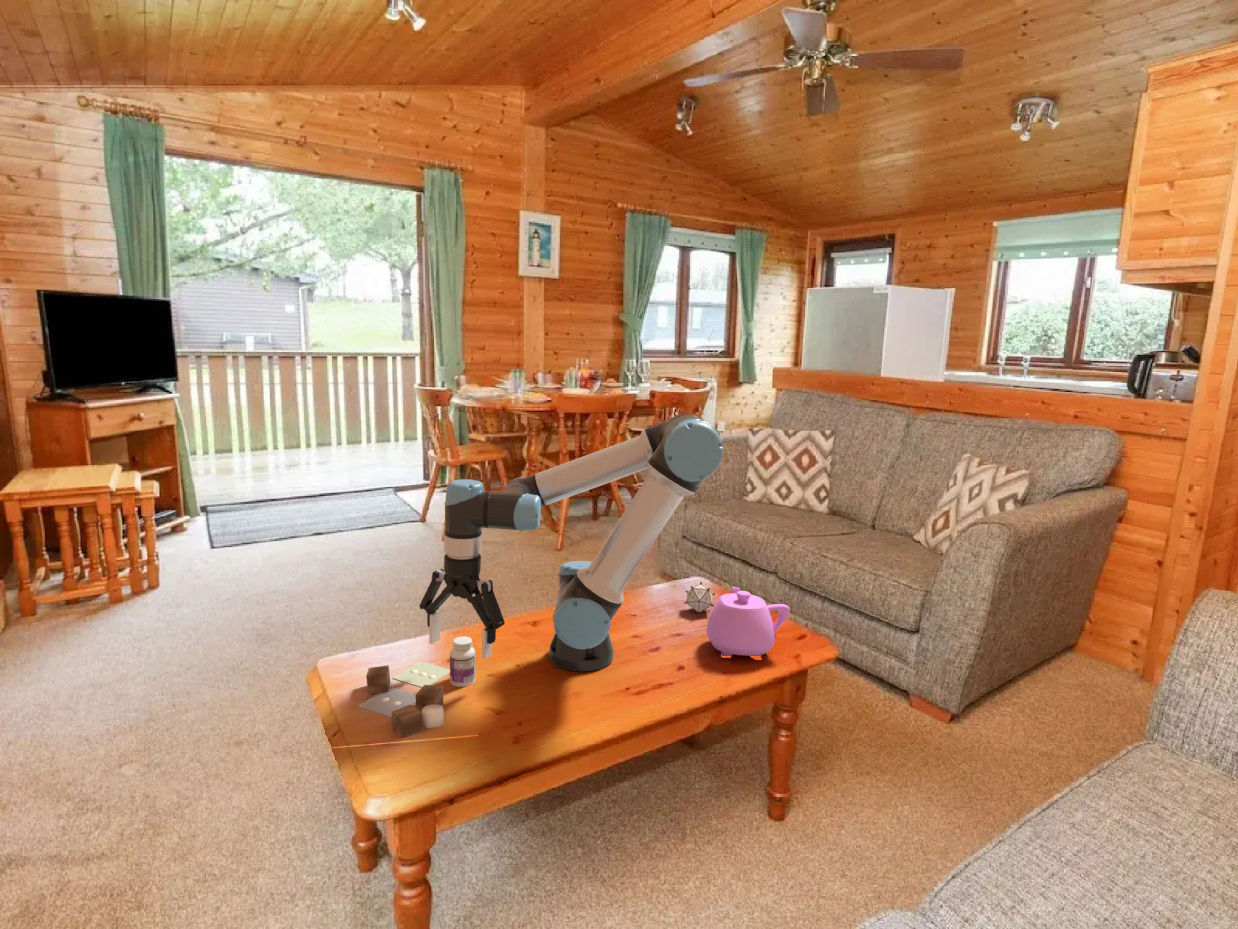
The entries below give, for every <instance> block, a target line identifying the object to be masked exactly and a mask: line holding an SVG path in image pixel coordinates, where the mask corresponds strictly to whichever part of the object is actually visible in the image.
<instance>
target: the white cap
mask: <svg viewBox="0 0 1238 929" xmlns="http://www.w3.org/2000/svg"><path fill="white" fill-rule="evenodd" d="M443 724H444V707H443V705H442V706H441V705H437V704H432V705H428V706H425V707H424V708H423V709H422V727H423V728H425V729H436V728H439V727H441V726H442V725H443Z"/></svg>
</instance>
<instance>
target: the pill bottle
mask: <svg viewBox="0 0 1238 929" xmlns="http://www.w3.org/2000/svg"><path fill="white" fill-rule="evenodd" d="M449 669H450V673H449V682H450V684H451V685H452V686H454V687H468V686H471V685H472V684H474V683H475V681H476V649H475V648H474V647H473V639H472V638H471V637H469V636H457V637H455V638H454V639H453V641H452V648H451V649H450V652H449Z"/></svg>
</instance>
